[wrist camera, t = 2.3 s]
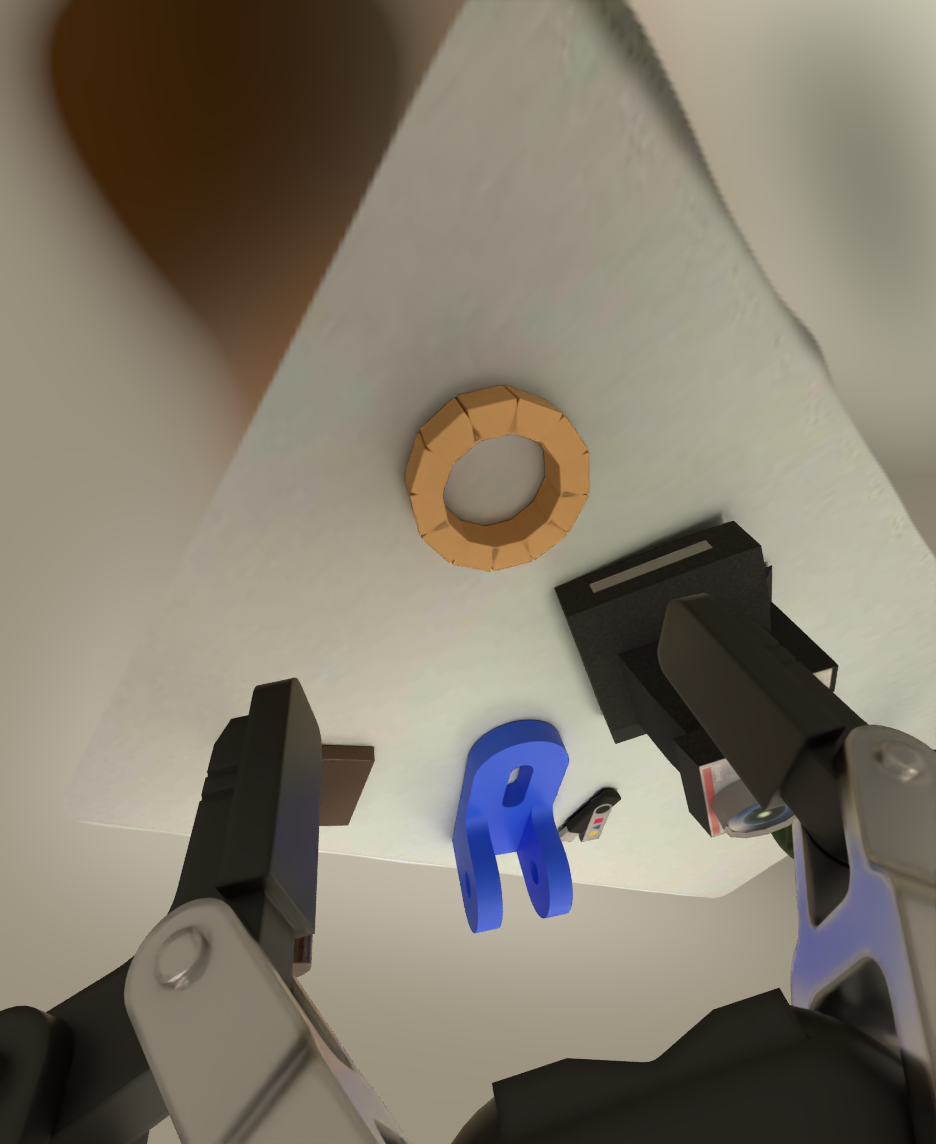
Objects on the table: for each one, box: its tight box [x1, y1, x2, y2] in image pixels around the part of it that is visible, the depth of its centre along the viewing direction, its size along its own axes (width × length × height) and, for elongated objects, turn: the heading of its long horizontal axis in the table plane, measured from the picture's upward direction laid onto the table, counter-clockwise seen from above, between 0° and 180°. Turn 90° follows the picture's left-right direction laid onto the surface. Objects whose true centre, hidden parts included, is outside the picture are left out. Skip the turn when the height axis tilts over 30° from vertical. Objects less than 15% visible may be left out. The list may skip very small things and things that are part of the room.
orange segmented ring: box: [405, 385, 590, 572], centre depth 25 cm, size 9×9×2 cm
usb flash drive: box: [558, 789, 621, 842], centre depth 51 cm, size 9×5×1 cm, turn 148°
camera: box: [555, 521, 838, 838], centre depth 30 cm, size 16×14×15 cm
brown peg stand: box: [293, 745, 375, 977], centre depth 33 cm, size 9×9×12 cm
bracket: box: [452, 720, 573, 933], centre depth 40 cm, size 18×8×9 cm, turn 173°
